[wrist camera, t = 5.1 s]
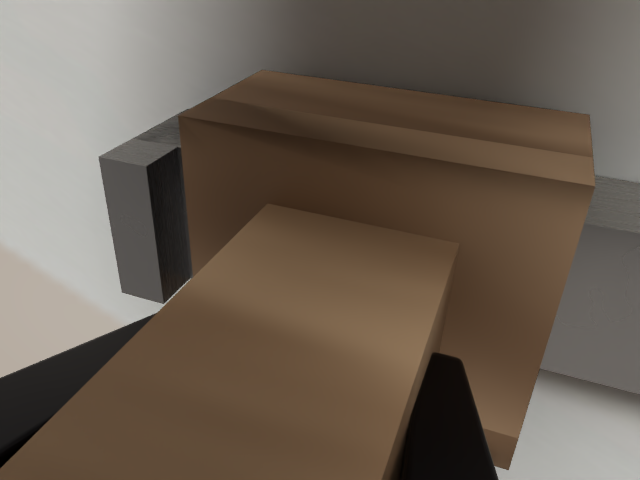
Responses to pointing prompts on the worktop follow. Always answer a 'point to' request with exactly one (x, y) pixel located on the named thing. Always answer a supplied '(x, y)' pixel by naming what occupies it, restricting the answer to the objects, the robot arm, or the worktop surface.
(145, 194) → the rail
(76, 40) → the worktop surface
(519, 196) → the carriage
